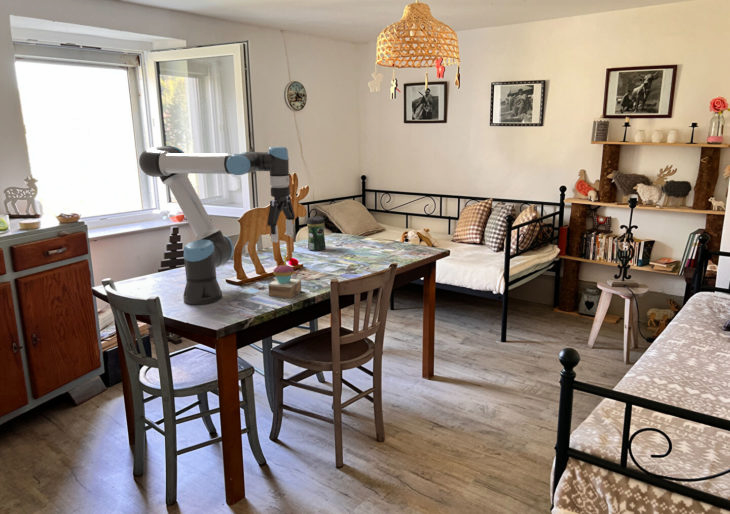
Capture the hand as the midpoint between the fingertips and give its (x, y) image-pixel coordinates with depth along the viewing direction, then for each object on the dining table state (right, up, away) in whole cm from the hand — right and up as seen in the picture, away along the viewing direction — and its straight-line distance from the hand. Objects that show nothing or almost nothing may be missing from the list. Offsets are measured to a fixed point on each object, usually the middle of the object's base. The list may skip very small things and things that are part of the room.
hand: (282, 238), depth 222 cm
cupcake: (0, -18, +4) cm, 19 cm away
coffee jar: (+7, -3, +83) cm, 83 cm away
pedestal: (0, -23, +6) cm, 23 cm away
